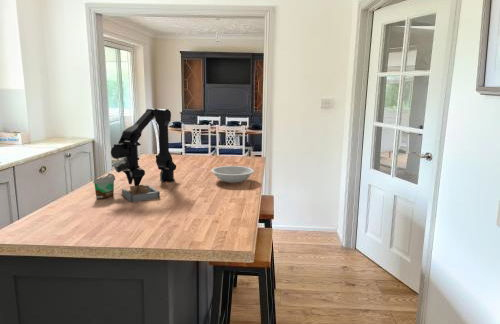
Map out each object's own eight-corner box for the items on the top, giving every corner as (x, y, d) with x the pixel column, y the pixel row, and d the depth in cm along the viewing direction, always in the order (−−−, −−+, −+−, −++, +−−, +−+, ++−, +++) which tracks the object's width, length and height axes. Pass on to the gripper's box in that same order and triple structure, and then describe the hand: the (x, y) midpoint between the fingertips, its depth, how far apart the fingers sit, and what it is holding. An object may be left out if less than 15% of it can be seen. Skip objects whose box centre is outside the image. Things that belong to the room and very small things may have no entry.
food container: (106, 201, 165) (105, 179, 163) (94, 200, 167) (93, 178, 165) (121, 194, 177) (120, 173, 175) (109, 193, 178) (108, 173, 176)
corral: (149, 191, 183) (149, 185, 182) (159, 197, 172) (159, 191, 171) (122, 195, 175) (121, 188, 175) (131, 202, 164) (130, 196, 164)
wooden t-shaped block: (147, 194, 178) (146, 184, 177) (153, 198, 171) (152, 187, 170) (130, 196, 173) (130, 186, 172) (136, 200, 167) (135, 190, 166)
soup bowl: (245, 189, 190) (245, 176, 189) (203, 184, 198) (203, 172, 197) (259, 179, 212) (260, 167, 211) (222, 175, 220) (222, 164, 219)
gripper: (109, 154, 182) (111, 184, 185) (120, 160, 167) (122, 193, 170) (131, 152, 188) (133, 181, 191) (144, 158, 174) (146, 189, 177)
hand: (133, 186), depth 182 cm, fingers open, 9 cm apart
